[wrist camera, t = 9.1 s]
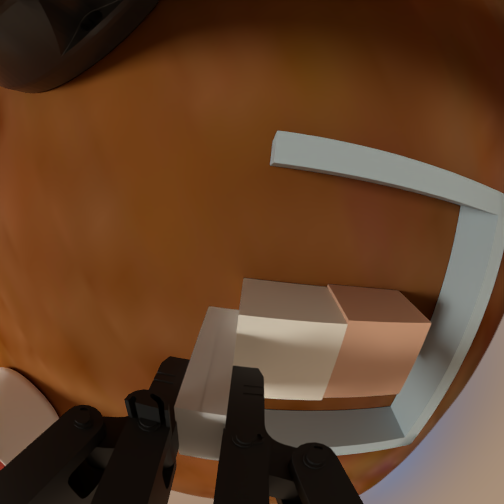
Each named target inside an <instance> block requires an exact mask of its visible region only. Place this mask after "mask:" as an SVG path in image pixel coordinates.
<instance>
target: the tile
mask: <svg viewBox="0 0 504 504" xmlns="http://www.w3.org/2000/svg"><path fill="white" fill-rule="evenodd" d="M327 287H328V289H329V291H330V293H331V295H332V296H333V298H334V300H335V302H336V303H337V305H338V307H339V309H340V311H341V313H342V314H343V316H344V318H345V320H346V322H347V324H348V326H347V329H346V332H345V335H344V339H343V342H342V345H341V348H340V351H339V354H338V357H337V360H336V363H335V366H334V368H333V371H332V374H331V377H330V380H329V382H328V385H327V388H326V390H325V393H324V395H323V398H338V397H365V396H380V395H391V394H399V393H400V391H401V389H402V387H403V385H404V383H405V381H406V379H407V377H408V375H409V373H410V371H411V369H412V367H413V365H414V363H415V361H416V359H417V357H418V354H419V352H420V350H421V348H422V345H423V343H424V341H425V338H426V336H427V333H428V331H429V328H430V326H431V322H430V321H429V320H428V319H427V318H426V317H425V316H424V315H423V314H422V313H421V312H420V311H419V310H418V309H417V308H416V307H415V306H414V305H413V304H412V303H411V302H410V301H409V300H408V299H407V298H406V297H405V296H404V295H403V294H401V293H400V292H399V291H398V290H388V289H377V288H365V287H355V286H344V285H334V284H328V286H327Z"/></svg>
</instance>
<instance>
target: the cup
mask: <svg viewBox="0 0 504 504" xmlns="http://www.w3.org/2000/svg"><path fill="white" fill-rule="evenodd" d="M58 419H59V417H58V415H57V413H56V411H55V410H54V408H53V407H52V405H51V404H50V403H49V401H48V400H47V399H46V398H45V396H44V395H43V394H42V393H41V392H40V391H39V390H38V389H37V388H36V387H35V386H34V385H33V384H32V383H31V382H30V381H29V380H27V379H26V378H25V377H24V376H22V375H21V374H20V373H18V372H16V371H14V370H12V369H10V368H5V367H1V368H0V470H1V469H2V468H4V467H5V466H6V465H7V464H8V463H9V462H10V461H11V460H13V459H14V458H15V457H16V456H17V455H18V454H19V453H20V452H22V451H23V450H24V449H25V448H26V447H27V446H28V445H30V444H31V443H32V442H33V441H34V440H35V439H36V438H37V437H39V436H40V435H41V434H42V433H43V432H44V431H45V430H47V429H48V428H49V427H50V426H51V425H52V424H53V423H54V422H56V421H57V420H58Z"/></svg>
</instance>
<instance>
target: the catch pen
mask: <svg viewBox="0 0 504 504" xmlns="http://www.w3.org/2000/svg"><path fill="white" fill-rule="evenodd" d="M270 166H277V167H285V168H292V169H299V170H305V171H312V172H318V173H324V174H330V175H336V176H341V177H347V178H352V179H357V180H362V181H367V182H372V183H376V184H381V185H385V186H390V187H394V188H398V189H402V190H407V191H411V192H415V193H418V194H422V195H426V196H430V197H433V198H437V199H441V200H444V201H448V202H451V203H454V204H458V205H461V207H460V213H459V219H458V224H457V229H456V234H455V239H454V244H453V248H452V252H451V256H450V260H449V264H448V268H447V271H446V275H445V278H444V282H443V285H442V288H441V292H440V295H439V298H438V301H437V304H436V307H435V310H434V312H433V315H432V318H431V321H430V322H431V326H430V328H429V331H428V333H427V336H426V338H425V341H424V343H423V345H422V348H421V350H420V352H419V354H418V357H417V359H416V361H415V363H414V365H413V367H412V369H411V371H410V373H409V375H408V377H407V379H406V381H405V383H404V385H403V387H402V389H401V391H400V393H399V394H397V396H396V397H395V399H394V401H393V403H392V405H391V406H389V407H380V408H370V409H356V410H336V411H288V410H267V409H265V429H266V431H267V433H268V434H269V435H270V436H271V438H273V439H274V440H276V441H277V442H280V443H282V444H285V445H288V446H292V447H296V448H298V447H299V446H300V445H302V444H305V443H311V442H316V443H321V444H324V445H326V446H328V447H329V448H331V449H332V450H333V452H334V453H335V454H336V455H347V454H356V453H364V452H371V451H377V450H383V449H389V448H394V447H399V446H404V445H409V444H411V443H412V442H413V440H414V439H415V438H416V436H417V435H418V434H419V432H420V431H421V429H422V428H423V427H424V425H425V424H426V422H427V421H428V420H429V418H430V417H431V415H432V414H433V412H434V411H435V409H436V408H437V406H438V404H439V403H440V401H441V400H442V398H443V396H444V395H445V393H446V391H447V390H448V388H449V386H450V384H451V383H452V381H453V379H454V377H455V376H456V374H457V372H458V370H459V368H460V366H461V364H462V362H463V360H464V358H465V356H466V354H467V352H468V350H469V348H470V346H471V344H472V341H473V339H474V337H475V335H476V332H477V330H478V328H479V325H480V323H481V320H482V318H483V315H484V312H485V310H486V307H487V304H488V301H489V299H490V296H491V293H492V290H493V286H494V283H495V280H496V277H497V273H498V270H499V266H500V262H501V258H502V254H503V250H504V194H503V193H501V192H499V191H497V190H494V189H492V188H490V187H488V186H485V185H483V184H481V183H478V182H476V181H473V180H471V179H468V178H466V177H463V176H460V175H458V174H455V173H452V172H450V171H447V170H444V169H441V168H438V167H435V166H432V165H429V164H426V163H423V162H420V161H417V160H413V159H410V158H407V157H403V156H400V155H396V154H393V153H389V152H385V151H381V150H377V149H373V148H369V147H365V146H361V145H356V144H352V143H347V142H343V141H338V140H333V139H327V138H322V137H316V136H311V135H305V134H298V133H292V132H284V131H277V133H276V135H275V137H274V140H273V143H272V152H271V161H270Z"/></svg>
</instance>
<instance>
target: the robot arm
mask: <svg viewBox="0 0 504 504" xmlns="http://www.w3.org/2000/svg"><path fill="white" fill-rule="evenodd" d="M158 1H159V0H0V86H2V87H4V88H7V89H12V90H17V91H21V92H25V93H38V92H43V91H47V90H50V89H53V88H55V87H58V86H60V85H62V84H64V83H66V82H68V81H69V80H71V79H73V78H75V77H76V76H78V75H79V74H81V73H82V72H84V71H85V70H87V69H88V68H90V67H91V66H92V65H94V64H95V63H96V62H98V61H99V60H100V59H102V58H103V57H104V56H105V55H107V54H108V53H109V52H110V51H111V50H112V49H114V48H115V47H116V46H117V45H118V44H119V43H120V42H121V41H123V40H124V39H125V38H126V37H127V36H128V35H129V34H130V33H131V32H132V31H133V30H134V29H135V28H136V27H137V26H138V25H139V24H140V23H141V22H142V21H143V19H144V18H145V17H146V16H147V15H148V14H149V13H150V11H151V10H152V9H153V8H154V6H155V5H156V4H157V3H158ZM238 314H239V310H233V309H225V308H218V307H210V306H209V308H208V310H207V313H206V316H205V319H204V322H203V324H202V327H201V330H200V333H199V336H198V338H197V341H196V344H195V347H194V350H193V353H192V356H191V359H190V360H188V359H182V358H176V357H171V356H170V357H169V358H167V359H166V360H165V361H163V362H162V363H161V365H160V367H159V369H158V371H157V373H156V376H155V378H154V381H153V382H152V384H151V386H150V388H149V390H138V391H135V392H133V393H131V394H129V395H128V396H127V397H126V398H125V399H124V400H125V404H126V408H127V412H128V416H126V417H102V415H101V413H100V412H99V411H98V410H97V409H96V408H94V407H91V406H88V405H79V406H74V407H73V408H71V409H69V410H68V411H67V412H66V413H65V414H63V415H62V416H61V417H60V418H59V419H58V420H57V421H56V422H54V423H53V424H52V425H51V426H50V427H49V428H48V429H47V430H45V431H44V432H43V433H42V434H41V435H40V436H39V437H37V438H36V439H35V440H34V441H33V442H32V443H31V444H30V445H28V446H27V447H26V448H25V449H24V450H23V451H22V452H20V453H19V454H18V455H17V456H16V457H15V458H14V459H13V460H11V461H10V462H9V463H8V464H7V465H6V466H5V467H4V468H2V469H1V470H0V504H167V503H168V499H169V495H170V491H171V487H172V483H173V478H174V474H175V470H176V456H177V452H178V449H179V454H182V455H187V456H192V457H198V458H204V459H211V460H218V461H219V464H218V472H217V479H216V487H215V495H214V503H213V504H269V496H271V497H275V498H276V500H277V503H278V504H363V502H362V500H361V499H360V497H359V495H358V493H357V492H356V490H355V488H354V486H353V484H352V483H351V481H350V479H349V477H348V476H347V474H346V472H345V470H344V468H343V467H342V465H341V463H340V461H339V459H338V458H337V456H336V454H335V453H334V452H333V450H332V449H331V448H329V447H328V446H326V445H324V444H321V443H316V442H311V443H305V444H302V445H300V446H299V447H298V448H296V447H292V446H288V445H285V444H282V443H280V442H277V441H276V440H274V439H273V438H271V436H270V435H269V434H268V433H267V431H266V429H265V409H264V377H263V375H262V373H261V372H260V370H259V368H251V367H242V366H233V362H234V353H235V345H236V336H237V333H236V332H237V323H238Z"/></svg>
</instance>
